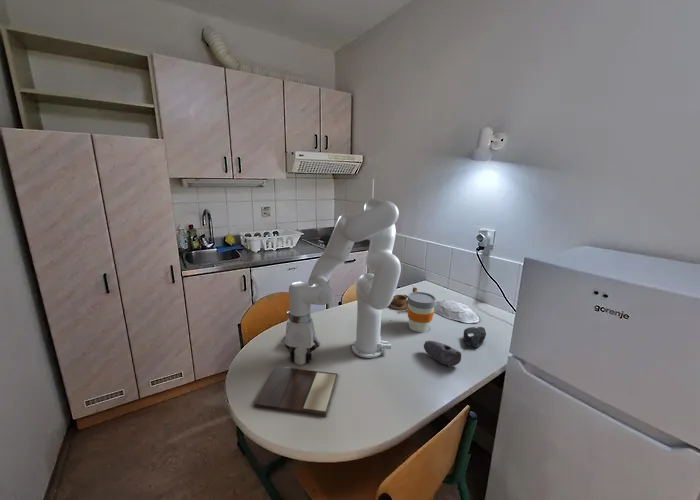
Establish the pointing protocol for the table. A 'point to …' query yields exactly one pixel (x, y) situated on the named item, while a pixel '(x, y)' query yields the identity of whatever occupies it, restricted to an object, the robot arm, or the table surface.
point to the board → (298, 391)
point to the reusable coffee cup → (420, 310)
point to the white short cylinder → (300, 356)
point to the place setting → (400, 302)
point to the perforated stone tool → (442, 353)
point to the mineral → (474, 336)
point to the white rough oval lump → (455, 311)
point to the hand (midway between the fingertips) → (301, 359)
